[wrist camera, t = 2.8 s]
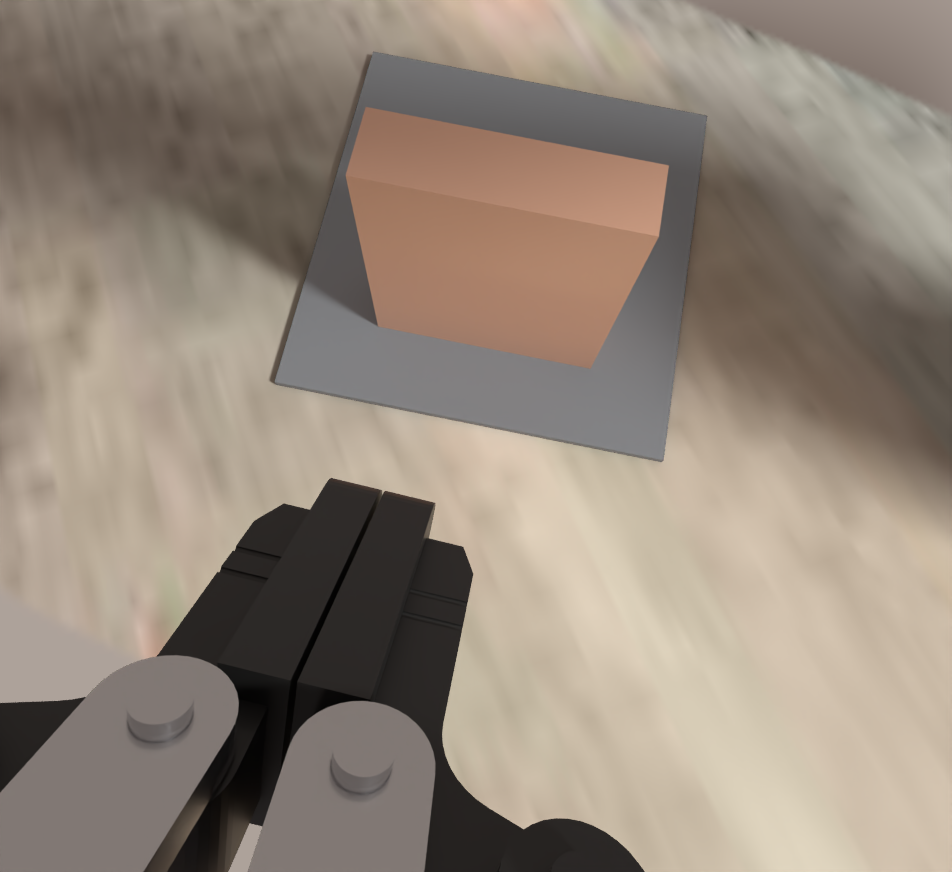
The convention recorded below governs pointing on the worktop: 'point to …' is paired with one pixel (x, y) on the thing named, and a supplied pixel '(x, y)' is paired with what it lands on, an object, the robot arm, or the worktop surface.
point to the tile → (499, 234)
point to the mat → (486, 370)
